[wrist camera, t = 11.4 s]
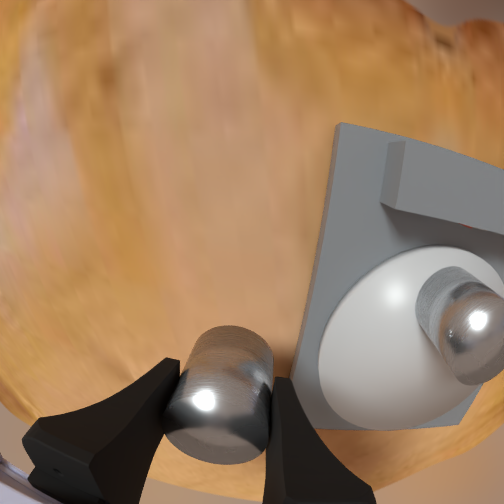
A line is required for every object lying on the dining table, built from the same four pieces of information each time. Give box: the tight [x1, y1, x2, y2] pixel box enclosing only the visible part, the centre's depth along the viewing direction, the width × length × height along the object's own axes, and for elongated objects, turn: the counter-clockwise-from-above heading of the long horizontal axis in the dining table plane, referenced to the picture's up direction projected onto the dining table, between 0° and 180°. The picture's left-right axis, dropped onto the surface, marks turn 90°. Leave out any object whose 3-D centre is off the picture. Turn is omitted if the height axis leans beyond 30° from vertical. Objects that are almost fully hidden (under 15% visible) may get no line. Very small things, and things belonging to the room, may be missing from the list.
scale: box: [289, 122, 504, 431], centre depth 16 cm, size 15×19×4 cm
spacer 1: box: [161, 326, 274, 465], centre depth 13 cm, size 4×4×5 cm
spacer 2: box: [415, 266, 504, 386], centre depth 12 cm, size 4×4×5 cm
